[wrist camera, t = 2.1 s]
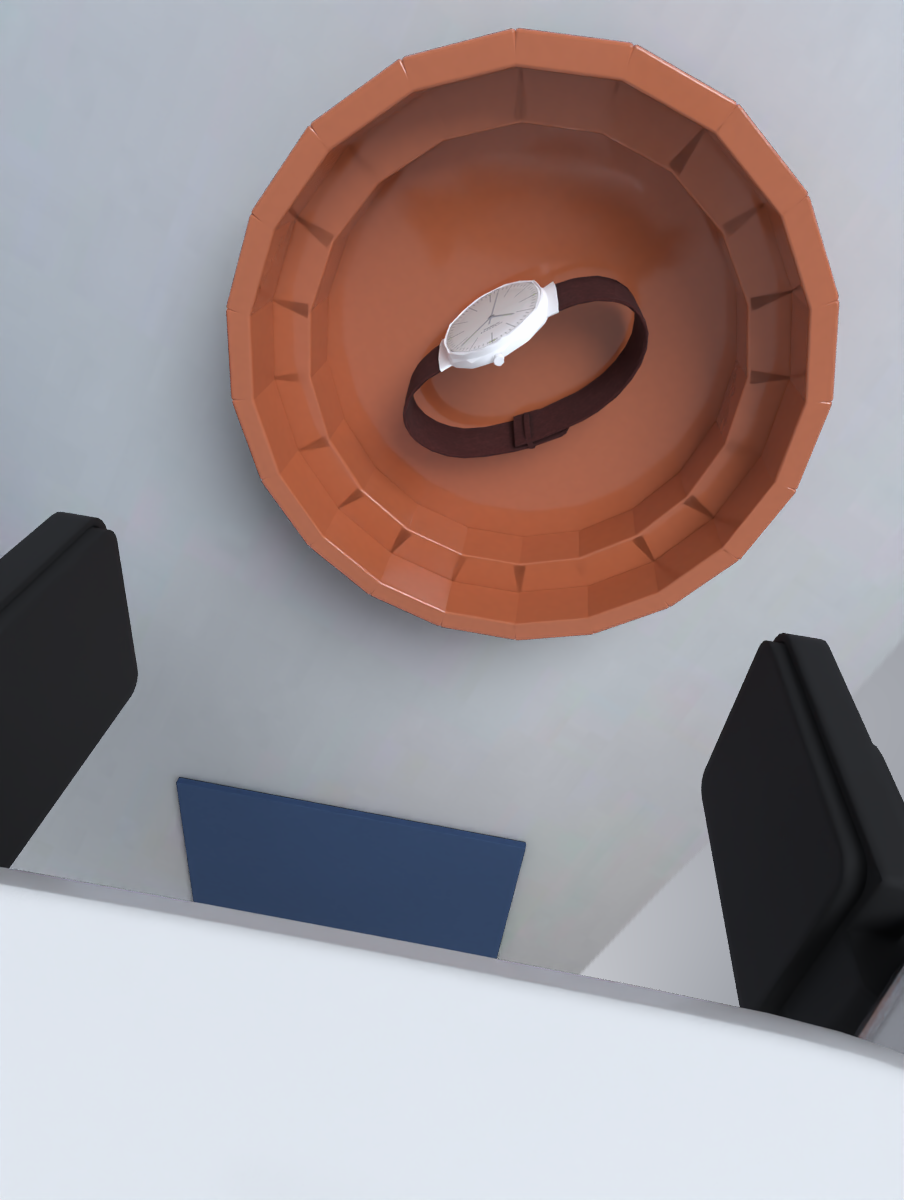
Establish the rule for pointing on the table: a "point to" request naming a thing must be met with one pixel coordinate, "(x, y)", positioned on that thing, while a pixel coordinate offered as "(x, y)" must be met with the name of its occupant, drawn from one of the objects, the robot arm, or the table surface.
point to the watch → (499, 331)
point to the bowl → (558, 349)
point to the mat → (348, 868)
